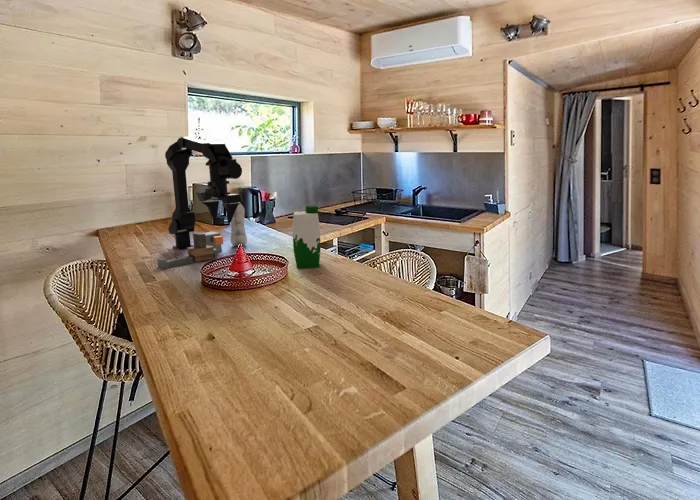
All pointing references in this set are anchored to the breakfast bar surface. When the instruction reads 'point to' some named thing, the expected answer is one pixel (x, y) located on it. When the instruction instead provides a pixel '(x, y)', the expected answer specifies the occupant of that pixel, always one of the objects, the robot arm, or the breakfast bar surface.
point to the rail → (178, 261)
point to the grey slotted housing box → (209, 242)
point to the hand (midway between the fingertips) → (222, 221)
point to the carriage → (200, 248)
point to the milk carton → (306, 238)
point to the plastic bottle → (238, 227)
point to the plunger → (217, 240)
